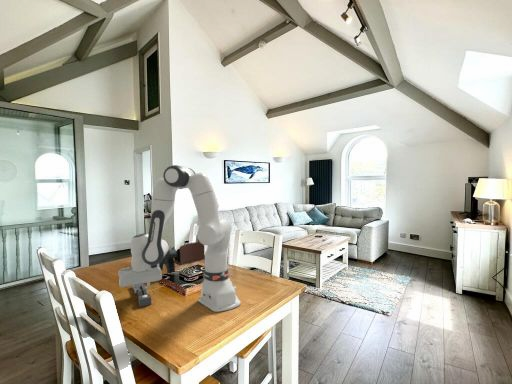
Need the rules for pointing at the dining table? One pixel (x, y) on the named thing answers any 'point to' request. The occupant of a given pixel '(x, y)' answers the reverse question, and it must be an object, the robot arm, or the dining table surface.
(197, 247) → the letter holder
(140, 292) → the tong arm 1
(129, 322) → the dining table surface
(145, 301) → the tong hinge block
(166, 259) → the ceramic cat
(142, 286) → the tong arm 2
